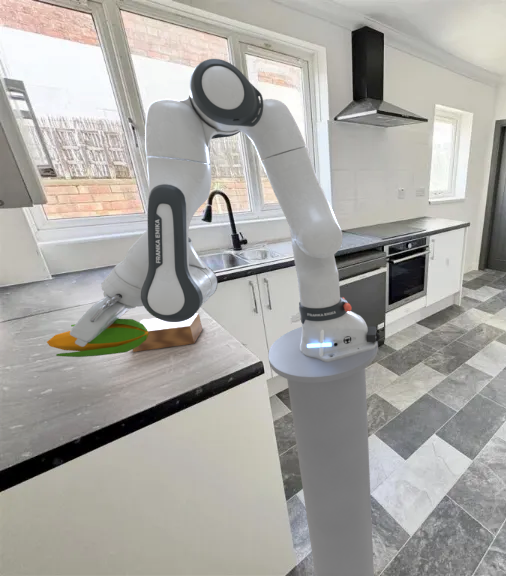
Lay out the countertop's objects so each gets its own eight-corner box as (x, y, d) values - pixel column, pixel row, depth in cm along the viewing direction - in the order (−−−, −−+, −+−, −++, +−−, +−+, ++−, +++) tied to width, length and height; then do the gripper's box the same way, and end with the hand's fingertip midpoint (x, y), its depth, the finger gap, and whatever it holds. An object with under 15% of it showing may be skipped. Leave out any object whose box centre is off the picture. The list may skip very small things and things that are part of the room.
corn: (131, 323, 65) (22, 332, 62) (140, 355, 67) (35, 366, 64) (151, 311, 72) (54, 319, 69) (158, 341, 74) (65, 350, 71)
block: (202, 329, 103) (198, 312, 101) (194, 343, 94) (189, 325, 92) (147, 336, 99) (142, 319, 97) (133, 352, 90) (127, 333, 88)
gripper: (121, 314, 59) (78, 367, 60) (161, 282, 77) (128, 323, 78) (85, 295, 56) (40, 351, 57) (135, 267, 75) (101, 309, 76)
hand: (91, 335), depth 68 cm, fingers closed on corn, 6 cm apart
